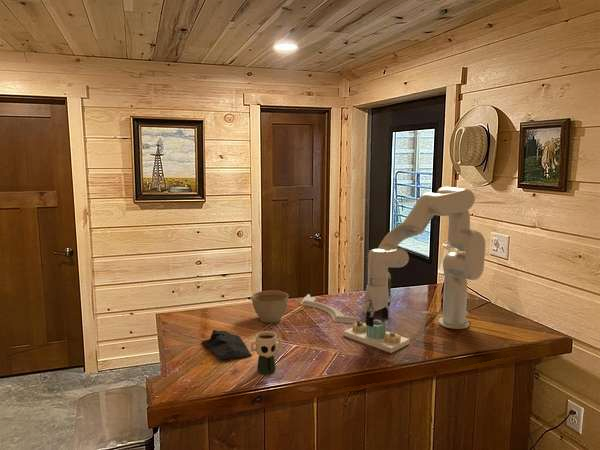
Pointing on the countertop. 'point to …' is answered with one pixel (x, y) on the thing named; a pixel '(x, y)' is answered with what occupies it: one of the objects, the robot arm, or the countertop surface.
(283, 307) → the planter bowl
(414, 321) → the countertop surface
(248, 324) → the countertop surface
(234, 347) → the dark slate chunk
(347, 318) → the molding
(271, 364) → the character mug
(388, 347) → the gear board
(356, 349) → the countertop surface
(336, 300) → the countertop surface
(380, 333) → the loose gear
